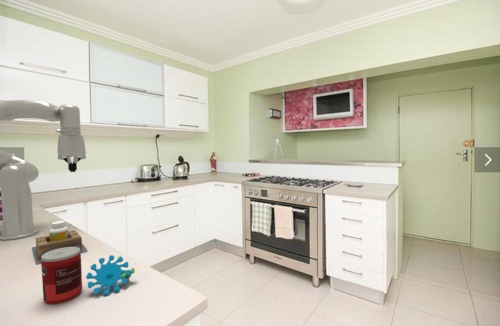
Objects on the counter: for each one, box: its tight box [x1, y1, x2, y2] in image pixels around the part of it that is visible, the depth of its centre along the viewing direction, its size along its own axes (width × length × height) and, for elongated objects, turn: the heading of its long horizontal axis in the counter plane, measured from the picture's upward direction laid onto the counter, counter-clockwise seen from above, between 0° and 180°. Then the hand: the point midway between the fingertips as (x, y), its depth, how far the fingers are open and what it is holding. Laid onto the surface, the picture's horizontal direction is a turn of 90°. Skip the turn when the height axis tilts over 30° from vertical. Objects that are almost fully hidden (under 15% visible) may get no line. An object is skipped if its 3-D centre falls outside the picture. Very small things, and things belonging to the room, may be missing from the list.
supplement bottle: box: [48, 220, 69, 242], centre depth 90 cm, size 5×5×10 cm
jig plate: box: [31, 243, 88, 265], centre depth 90 cm, size 18×14×3 cm
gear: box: [85, 254, 136, 296], centre depth 66 cm, size 11×6×10 cm
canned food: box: [40, 247, 83, 305], centre depth 61 cm, size 8×8×11 cm
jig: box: [35, 229, 83, 258], centre depth 90 cm, size 12×12×4 cm
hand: (72, 171), depth 115 cm, fingers closed
